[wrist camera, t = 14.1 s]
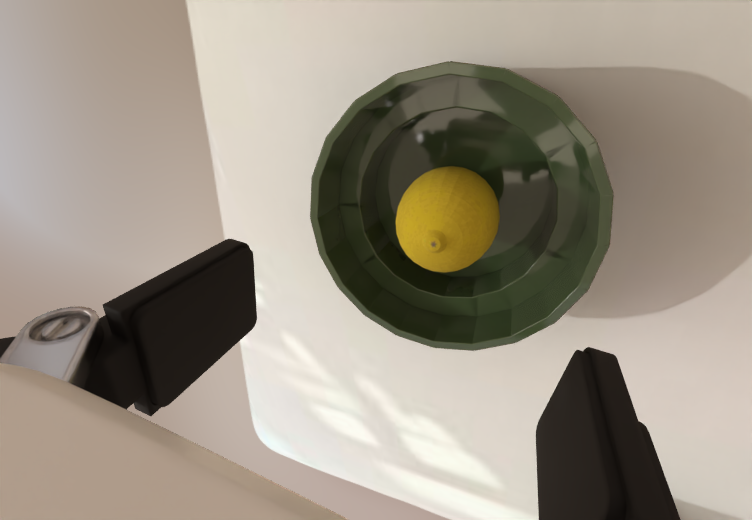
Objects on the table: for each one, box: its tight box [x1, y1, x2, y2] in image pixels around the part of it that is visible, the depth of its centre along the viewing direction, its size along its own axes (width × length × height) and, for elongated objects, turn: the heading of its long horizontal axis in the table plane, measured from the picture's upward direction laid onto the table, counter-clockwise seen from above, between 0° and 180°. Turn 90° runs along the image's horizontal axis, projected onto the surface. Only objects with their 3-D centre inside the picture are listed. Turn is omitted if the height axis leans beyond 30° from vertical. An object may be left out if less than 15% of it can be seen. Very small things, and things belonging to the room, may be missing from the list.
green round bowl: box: [310, 61, 614, 351], centre depth 21 cm, size 15×15×6 cm
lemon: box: [396, 166, 500, 272], centre depth 20 cm, size 6×6×8 cm
